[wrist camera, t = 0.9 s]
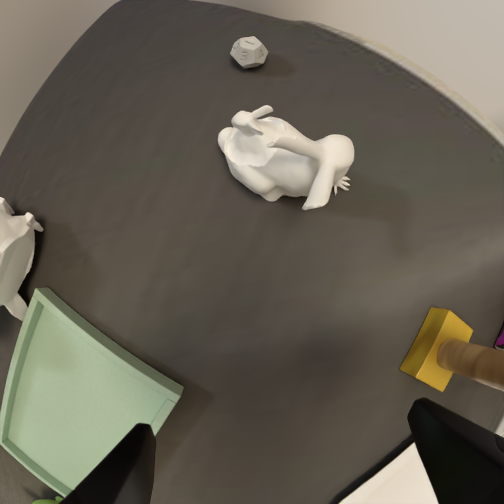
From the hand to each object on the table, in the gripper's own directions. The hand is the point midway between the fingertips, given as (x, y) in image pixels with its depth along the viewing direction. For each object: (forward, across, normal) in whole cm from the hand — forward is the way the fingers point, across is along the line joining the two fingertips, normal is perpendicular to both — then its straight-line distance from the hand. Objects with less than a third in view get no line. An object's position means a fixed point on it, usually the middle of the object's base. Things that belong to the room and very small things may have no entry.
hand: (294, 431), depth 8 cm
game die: (+24, 0, -19) cm, 31 cm away
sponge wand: (+13, -18, +8) cm, 24 cm away
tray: (+11, +19, +16) cm, 26 cm away
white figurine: (+19, -2, -6) cm, 20 cm away
